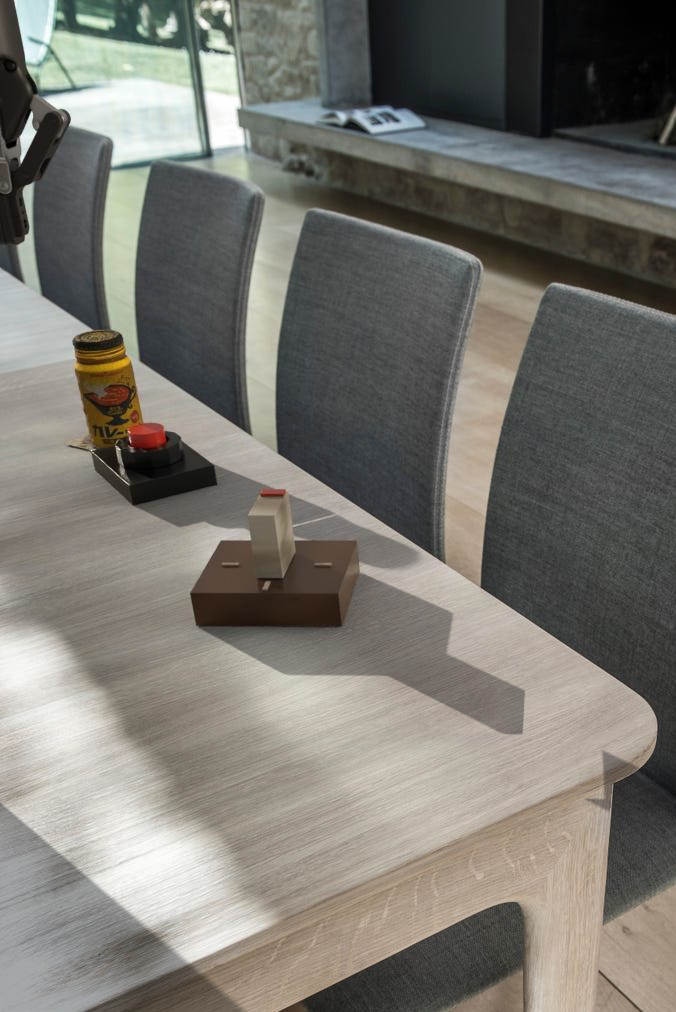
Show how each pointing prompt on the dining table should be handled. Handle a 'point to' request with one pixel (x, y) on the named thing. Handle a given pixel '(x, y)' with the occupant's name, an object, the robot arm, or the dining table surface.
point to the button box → (153, 469)
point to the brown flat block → (277, 586)
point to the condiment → (105, 388)
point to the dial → (272, 533)
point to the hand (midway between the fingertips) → (12, 243)
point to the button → (147, 435)
